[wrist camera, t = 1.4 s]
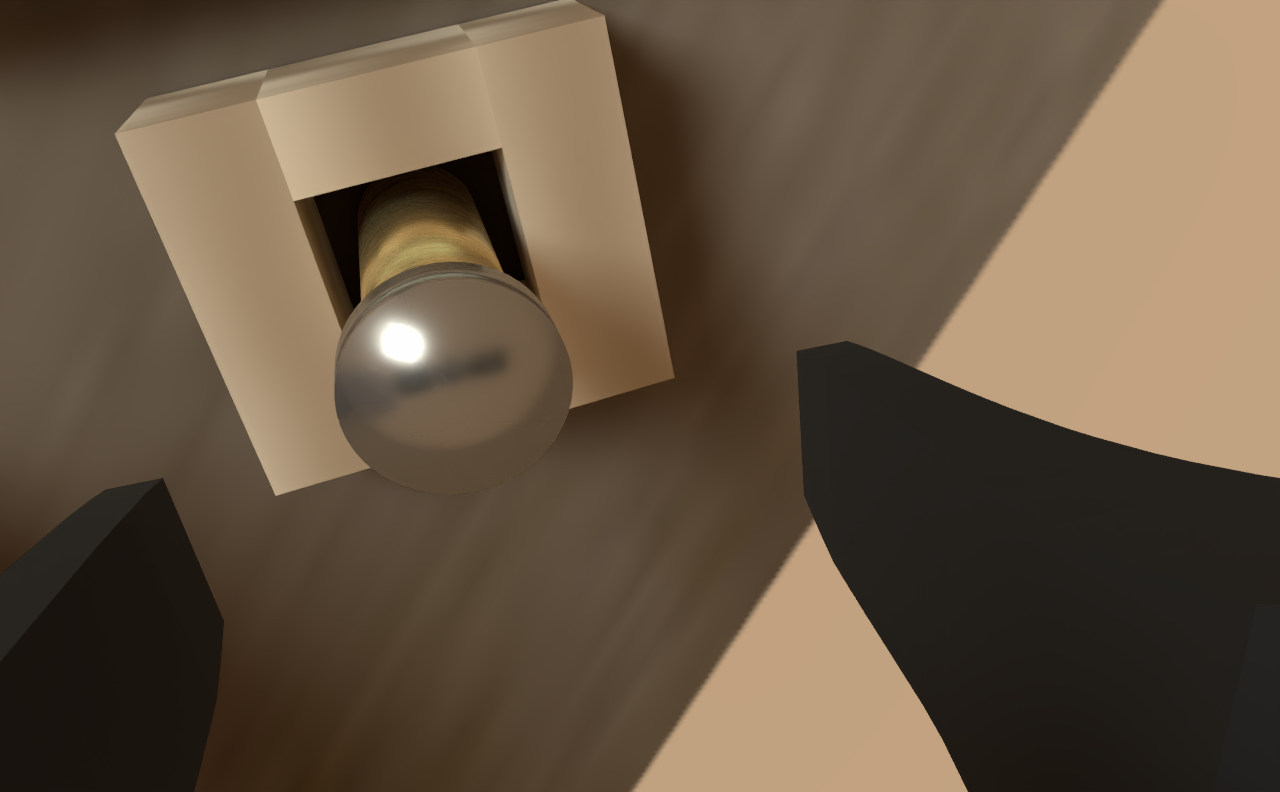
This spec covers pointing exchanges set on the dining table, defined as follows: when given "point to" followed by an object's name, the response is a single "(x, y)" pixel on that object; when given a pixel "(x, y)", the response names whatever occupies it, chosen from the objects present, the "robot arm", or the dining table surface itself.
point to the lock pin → (444, 346)
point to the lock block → (382, 147)
